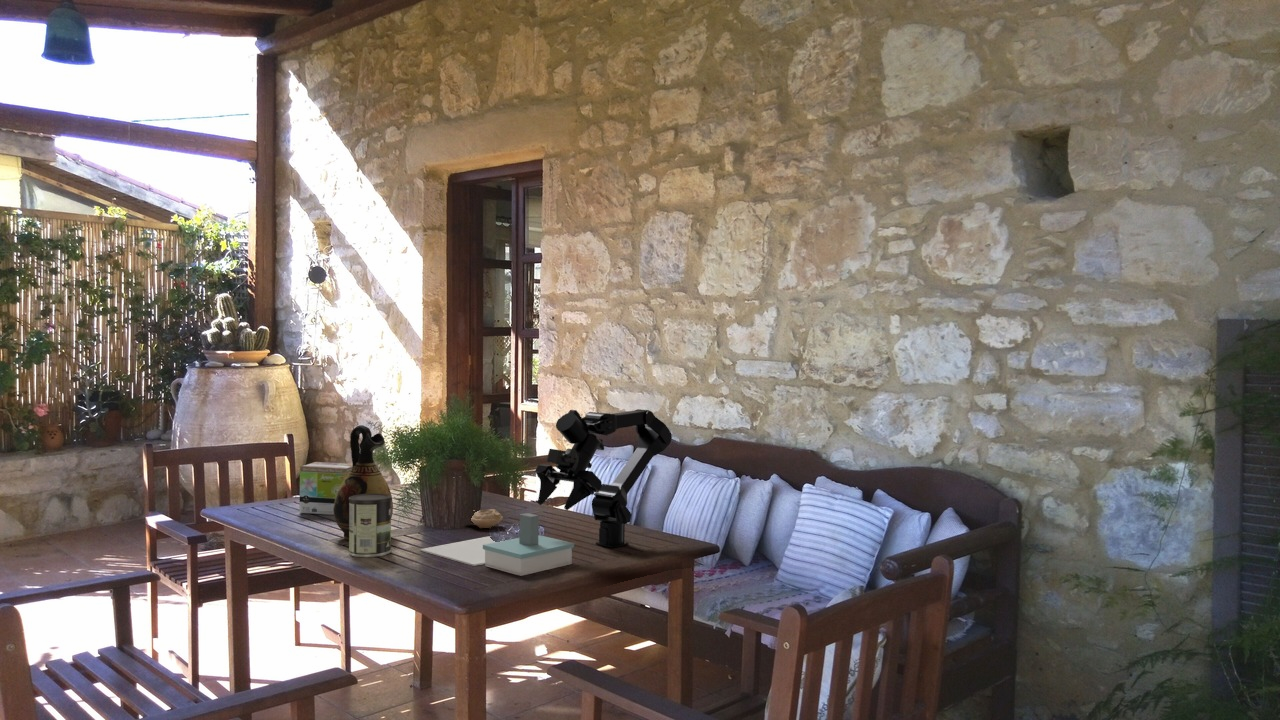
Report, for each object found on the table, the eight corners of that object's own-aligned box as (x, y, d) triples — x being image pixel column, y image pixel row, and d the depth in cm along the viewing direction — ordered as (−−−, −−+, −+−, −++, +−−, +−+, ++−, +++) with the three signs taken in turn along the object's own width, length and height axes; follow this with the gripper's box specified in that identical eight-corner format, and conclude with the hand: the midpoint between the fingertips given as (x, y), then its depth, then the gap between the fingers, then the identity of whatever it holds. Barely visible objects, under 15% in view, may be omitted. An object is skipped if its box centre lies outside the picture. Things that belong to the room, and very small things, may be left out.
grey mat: (488, 537, 249) (488, 536, 249) (543, 551, 234) (543, 549, 234) (420, 550, 233) (420, 549, 233) (474, 566, 218) (474, 564, 218)
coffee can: (385, 546, 237) (385, 492, 237) (395, 555, 228) (396, 498, 228) (344, 550, 232) (344, 494, 232) (353, 559, 223) (353, 501, 223)
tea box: (298, 514, 278) (298, 465, 277) (314, 508, 288) (314, 461, 287) (345, 516, 276) (346, 467, 275) (360, 510, 286) (360, 462, 285)
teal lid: (535, 544, 231) (536, 506, 231) (574, 553, 222) (574, 514, 222) (482, 555, 218) (483, 515, 218) (520, 565, 209) (521, 524, 209)
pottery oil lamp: (471, 520, 270) (483, 499, 271) (498, 539, 263) (510, 518, 264) (452, 514, 263) (465, 492, 264) (479, 534, 256) (492, 511, 257)
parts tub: (535, 554, 230) (535, 538, 230) (571, 563, 222) (571, 547, 222) (484, 565, 219) (485, 549, 218) (520, 575, 210) (521, 558, 210)
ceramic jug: (404, 537, 248) (405, 426, 247) (354, 546, 236) (355, 430, 235) (367, 528, 259) (368, 422, 258) (318, 537, 247) (319, 425, 246)
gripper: (538, 432, 234) (507, 484, 227) (591, 439, 222) (561, 493, 215) (561, 457, 241) (532, 508, 233) (614, 465, 229) (586, 518, 221)
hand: (552, 506), depth 225 cm, fingers open, 9 cm apart
